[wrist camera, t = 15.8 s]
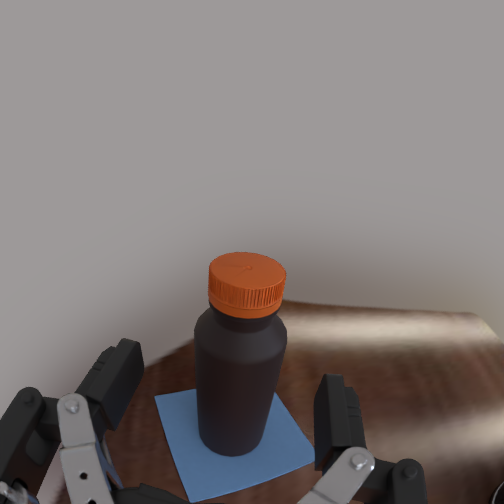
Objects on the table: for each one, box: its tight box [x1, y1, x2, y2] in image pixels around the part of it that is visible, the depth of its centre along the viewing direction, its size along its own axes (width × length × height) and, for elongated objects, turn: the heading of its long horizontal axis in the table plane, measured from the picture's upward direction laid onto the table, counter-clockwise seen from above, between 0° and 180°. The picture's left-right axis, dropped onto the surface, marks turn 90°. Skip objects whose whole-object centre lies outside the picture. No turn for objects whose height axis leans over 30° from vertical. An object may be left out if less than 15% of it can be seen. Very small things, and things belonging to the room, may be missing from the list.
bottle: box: [194, 252, 287, 457], centre depth 23 cm, size 7×7×20 cm
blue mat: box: [154, 389, 315, 503], centre depth 27 cm, size 14×14×1 cm
